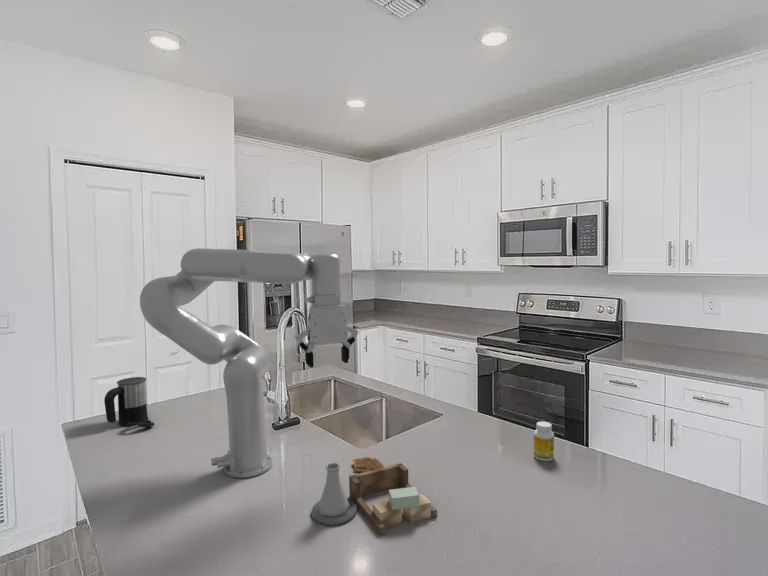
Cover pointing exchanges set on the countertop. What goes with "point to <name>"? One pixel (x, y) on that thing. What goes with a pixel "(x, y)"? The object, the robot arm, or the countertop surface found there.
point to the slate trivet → (337, 519)
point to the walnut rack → (378, 489)
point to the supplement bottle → (544, 441)
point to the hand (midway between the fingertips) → (327, 364)
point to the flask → (333, 494)
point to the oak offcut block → (387, 513)
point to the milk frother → (129, 403)
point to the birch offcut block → (418, 510)
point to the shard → (366, 464)
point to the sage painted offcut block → (404, 498)
